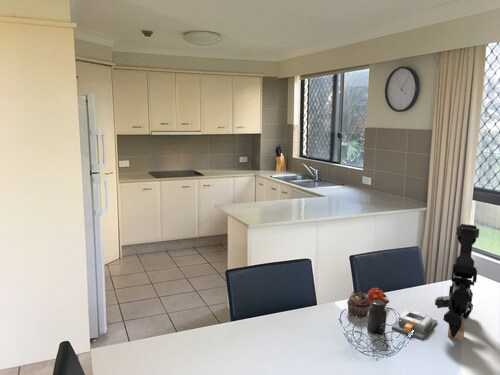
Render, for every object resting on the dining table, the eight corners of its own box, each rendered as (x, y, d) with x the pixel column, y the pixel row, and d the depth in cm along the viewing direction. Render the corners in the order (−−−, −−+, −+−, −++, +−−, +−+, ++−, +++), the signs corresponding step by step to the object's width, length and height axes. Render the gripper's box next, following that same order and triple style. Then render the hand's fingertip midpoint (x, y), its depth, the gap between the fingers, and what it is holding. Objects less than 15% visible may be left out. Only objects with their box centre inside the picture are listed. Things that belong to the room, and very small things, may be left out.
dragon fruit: (369, 302, 197) (384, 317, 186) (358, 294, 194) (372, 309, 183) (381, 288, 197) (396, 303, 186) (370, 280, 193) (385, 294, 182)
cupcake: (374, 315, 181) (376, 293, 179) (358, 321, 176) (360, 298, 174) (357, 306, 189) (358, 285, 187) (341, 311, 183) (343, 289, 182)
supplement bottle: (386, 336, 164) (388, 307, 162) (367, 334, 165) (370, 305, 163) (384, 328, 171) (386, 299, 169) (366, 325, 172) (368, 297, 170)
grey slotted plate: (407, 313, 184) (408, 304, 183) (436, 322, 176) (437, 313, 176) (391, 328, 170) (392, 319, 169) (422, 339, 163) (423, 329, 162)
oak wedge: (449, 333, 168) (452, 314, 167) (463, 337, 165) (466, 318, 164) (447, 336, 166) (450, 317, 164) (461, 340, 163) (464, 321, 161)
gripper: (445, 281, 174) (441, 317, 177) (431, 295, 160) (427, 333, 163) (475, 289, 168) (470, 326, 170) (463, 304, 153) (458, 344, 156)
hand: (456, 332), depth 165 cm, fingers open, 9 cm apart
